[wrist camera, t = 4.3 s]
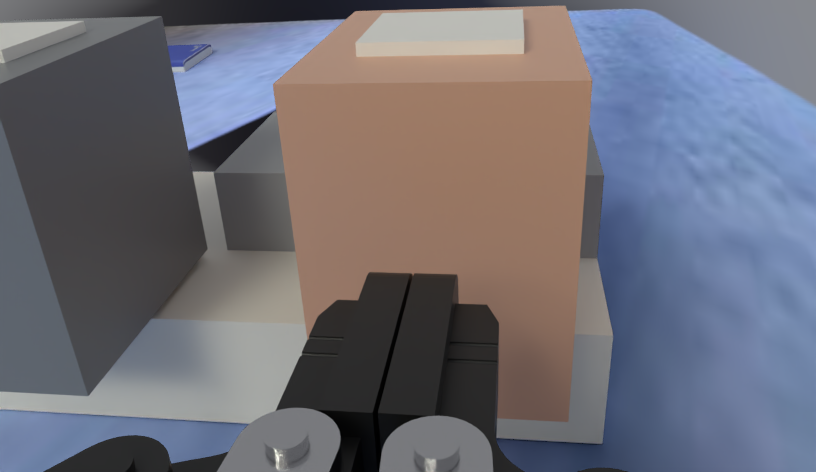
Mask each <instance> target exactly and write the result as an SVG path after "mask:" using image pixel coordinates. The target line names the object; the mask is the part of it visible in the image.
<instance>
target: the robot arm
mask: <svg viewBox="0 0 816 472" xmlns="http://www.w3.org/2000/svg"><path fill="white" fill-rule="evenodd" d="M498 366H499V322H498V321H497V319H496V317H495V316H494V314H493V313H492V311H491V310H490V308H489V307H488V305H483V304H459V298H458V276H457V274H427V273H414V275H412V273H387V272H369V273H368V275H367V277H366V280H365V283H364V285H363V288H362V291H361V293H360V296H359V299H358V300H336V301H335V302H334V303H333V304H332V305H330V306H329V307H328V308H327V309H326V310H325V311H323V312H322V313H321V314H320V315H319V316H318V317H317V319H316V321H315V324H314V326H313V328H312V330H311V332H310V335H309V340H307V341H306V344H305V346H304V348H303V350H302V356H300V357H299V359H298V362H297V364H296V366H295V368H294V370H293V373H292V375H291V377H290V379H289V382H288V384H287V386H286V388H285V391H284V393H283V395H282V397H281V399H280V402H279V404H278V406H277V408H276V411H274V412H270V413H268V414H266V415H263V416H261V417H259V418H258V419H256V420H254V421H253V422H252V423H250V424H249V425H248V426H247V427H246V428H245V429H244V430H243V431H242V432H241V433H240V434H239V436H238V437H237V439H236V441H235V442H234V444H233V446H232V447H231V449H230V451H229V452H226V453H223V454H219V455H215V456H211V457H205V458H200V459H194V460H189V461H183V462H178V463H173V464H171V461H170V457H169V454H168V452H167V450H166V448H165V447H164V445H162V444H161V443H160V442H159V441H157V440H155V439H153V438H149V437H145V436H137V435H134V436H122V437H116V438H112V439H108V440H105V441H103V442H100V443H98V444H95V445H93V446H91V447H89V448H87V449H85V450H83V451H82V452H80V453H78V454H76V455H74V456H72V457H70V458H68V459H66V460H65V461H63V462H61V463H59V464H57V465H55V466H53V467H51V468H50V469H48V470H46V471H44V472H524V471H523V470H521V469H519V468H518V467H516V466H515V465H514V464H512V463H511V462H510V461H509V460H508V459H507V458H506V457H505V455H504V454H503V453H502V451H501V450H500V448H499V446H498V444H497V441H496V437H497V411H498ZM578 472H626V471H623V470H619V469H612V468H591V469H586V470H582V471H578Z"/></svg>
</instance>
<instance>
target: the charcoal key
mask: <svg viewBox="0 0 816 472" xmlns="http://www.w3.org/2000/svg"><path fill="white" fill-rule="evenodd" d="M207 249H208V248H207V243H206V238H205V233H204V228H203V223H202V218H201V213H200V208H199V202H198V197H197V192H196V187H195V182H194V177H193V172H192V167H191V162H190V157H189V152H188V147H187V142H186V137H185V132H184V127H183V122H182V117H181V111H180V106H179V101H178V96H177V91H176V86H175V81H174V76H173V71H172V66H171V61H170V56H169V51H168V46H167V41H166V36H165V31H164V25H163V20H162V16H159V17H122V18H83V19H48V20H47V19H45V20H9V21H0V392H18V393H37V394H55V395H74V396H89V395H90V394H91V392H92V391H93V390H94V389H95V387H96V386H97V385H98V384H99V382H100V381H101V380H102V379H103V378H104V376H105V375H106V374H107V373H108V371H109V370H110V369H111V368H112V366H113V365H114V364H115V363H116V362H117V360H118V359H119V358H120V357H121V355H122V354H123V353H124V352H125V350H126V349H127V348H128V347H129V345H130V344H131V343H132V342H133V341H134V339H135V338H136V337H137V336H138V334H139V333H140V332H141V331H142V329H143V328H144V327H145V326H146V325H147V323H148V322H149V321H150V320H151V318H152V317H153V316H154V315H155V313H156V312H157V311H158V310H159V308H160V307H161V306H162V305H163V304H164V302H165V301H166V300H167V299H168V297H169V296H170V295H171V294H172V292H173V291H174V290H175V289H176V288H177V286H178V285H179V284H180V283H181V281H182V280H183V279H184V278H185V276H186V275H187V274H188V273H189V271H190V270H191V269H192V268H193V267H194V265H195V264H196V263H197V262H198V260H199V259H200V258H201V257H202V255H203V254H204V253H205V252H206V251H207Z"/></svg>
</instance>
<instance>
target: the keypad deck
mask: <svg viewBox="0 0 816 472" xmlns="http://www.w3.org/2000/svg"><path fill="white" fill-rule="evenodd" d="M193 177H194V182H195V187H196V192H197V197H198V202H199V208H200V213H201V218H202V223H203V228H204V233H205V238H206V243H207V248H208V249H207V251H206V252H205V253H204V254H203V255H202V257H201V258H200V259H199V260H198V262H197V263H196V264H195V265H194V267H193V268H192V269H191V270H190V271H189V273H188V274H187V275H186V276H185V278H184V279H183V280H182V281H181V283H180V284H179V285H178V286H177V288H176V289H175V290H174V291H173V292H172V294H171V295H170V296H169V297H168V299H167V300H166V301H165V302H164V304H163V305H162V306H161V307H160V308H159V310H158V311H157V312H156V313H155V315H154V316H153V317H152V318H151V320H150V321H149V322H148V323H147V325H146V326H145V327H144V328H143V329H142V331H141V332H140V333H139V334H138V336H137V337H136V338H135V339H134V341H133V342H132V343H131V344H130V345H129V347H128V348H127V349H126V350H125V352H124V353H123V354H122V355H121V357H120V358H119V359H118V360H117V362H116V363H115V364H114V365H113V366H112V368H111V369H110V370H109V371H108V373H107V374H106V375H105V376H104V378H103V379H102V380H101V381H100V382H99V384H98V385H97V386H96V387H95V389H94V390H93V391H92V392H91V394H90V395H89V396H74V395H55V394H37V393H18V392H0V409H4V410H21V411H39V412H56V413H73V414H90V415H108V416H125V417H142V418H160V419H177V420H194V421H212V422H229V423H246V424H250V423H252V422H253V421H254V420H256V419H258V418H259V417H261V416H263V415H266V414H268V413H270V412H274V411H276V408H277V406H278V404H279V402H280V399H281V397H282V395H283V393H284V391H285V388H286V386H287V384H288V382H289V379H290V377H291V375H292V373H293V370H294V368H295V366H296V364H297V362H298V359H299V357H300V356H302V350H303V348H304V346H305V344H306V341H307V333H306V326H305V318H304V311H303V304H302V296H301V289H300V281H299V274H298V266H297V259H296V252H295V244H294V237H293V229H292V222H291V215H290V207H289V200H288V192H287V185H286V178H285V170H284V163H283V155H282V148H281V140H280V133H279V126H278V118H277V112H273V114H272V115H271V116H270V117H268V118H267V120H266V121H265V122H264V123H263V124H262V125H261V126H260V127H259V128H258V129H257V130H256V131H255V132H254V133H253V134H252V135H251V136H250V137H249V138H248V139H247V140H246V141H245V142H244V143H243V144H242V145H241V146H240V147H239V148H238V149H237V150H236V151H235V152H234V153H233V154H232V155H231V156H230V157H229V158H228V159H227V160H226V161H225V162H224V163H223V164H222V165H221V166H220V167H219V168H218V169H217V170H216V171H215V172H193ZM603 181H604V174H603V170H602V167H601V163H600V160H599V156H598V153H597V149H596V146H595V142H594V139H593V135H592V132H591V128H590V125H589V135H588V149H587V163H586V177H585V192H584V206H583V220H582V235H581V249H580V263H579V277H578V292H577V306H576V320H575V335H574V349H573V363H572V377H571V392H570V406H569V420H568V422H556V421H537V420H519V419H500V418H497V437H496V438H506V439H523V440H540V441H558V442H575V443H592V444H602V443H603V433H604V423H605V413H606V403H607V393H608V383H609V373H610V363H611V353H612V343H613V332H612V327H611V323H610V318H609V313H608V308H607V303H606V299H605V294H604V289H603V284H602V279H601V275H600V270H599V265H598V260H597V254H598V241H599V229H600V217H601V205H602V193H603Z"/></svg>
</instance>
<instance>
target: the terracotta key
mask: <svg viewBox="0 0 816 472" xmlns="http://www.w3.org/2000/svg"><path fill="white" fill-rule="evenodd" d="M273 89H274V96H275V103H276V111H277V118H278V126H279V133H280V140H281V148H282V155H283V163H284V170H285V178H286V185H287V192H288V200H289V207H290V215H291V222H292V229H293V237H294V244H295V252H296V259H297V266H298V274H299V281H300V289H301V296H302V304H303V311H304V318H305V326H306V333H307V340H309V335H310V332H311V330H312V328H313V326H314V324H315V321H316V319H317V317H318V316H319V315H320V314H321V313H322V312H323V311H325V310H326V309H327V308H328V307H329V306H330V305H332V304H333V303H334V302H335V301H336V300H358V299H359V296H360V293H361V291H362V288H363V285H364V283H365V280H366V277H367V275H368V273H369V272H387V273H412V275H414V273H427V274H457V276H458V298H459V304H483V305H488V307H489V308H490V310H491V311H492V313H493V314H494V316H495V317H496V319H497V321H498V322H499V366H498V411H497V418H500V419H519V420H537V421H556V422H568V420H569V406H570V392H571V377H572V363H573V349H574V335H575V320H576V306H577V292H578V277H579V263H580V249H581V235H582V220H583V206H584V192H585V177H586V163H587V149H588V135H589V120H590V106H591V92H592V78H591V76H590V73H589V70H588V67H587V65H586V62H585V59H584V56H583V53H582V51H581V48H580V45H579V42H578V40H577V37H576V34H575V31H574V28H573V26H572V23H571V20H570V17H569V15H568V12H567V9H566V6H539V7H538V6H537V7H499V8H464V9H425V10H386V11H355V12H354V13H353V14H352V15H351V16H350V17H348V18H347V19H346V20H345V21H344V22H343V23H342V24H340V25H339V26H338V27H337V28H336V29H335V30H334V31H333V32H331V33H330V34H329V35H328V36H327V37H326V38H325V39H324V40H322V41H321V42H320V43H319V44H318V45H317V46H316V47H314V48H313V49H312V50H311V51H310V52H309V53H308V54H307V55H305V56H304V57H303V58H302V59H301V60H300V61H299V62H298V63H296V64H295V65H294V66H293V67H292V68H291V69H290V70H289V71H287V72H286V73H285V74H284V75H283V76H282V77H281V78H280V79H278V80H277V81H276V82H275V83H274V84H273Z"/></svg>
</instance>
